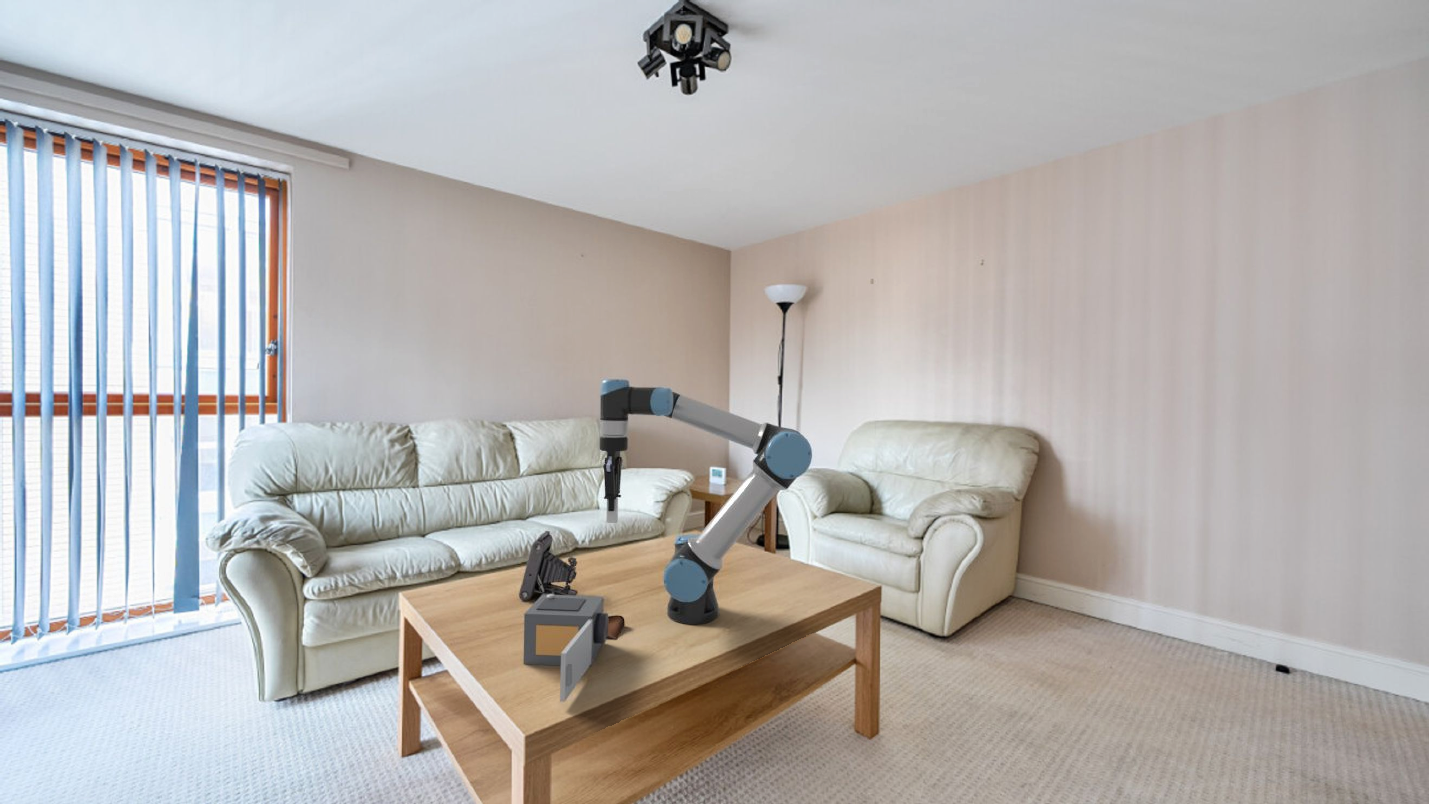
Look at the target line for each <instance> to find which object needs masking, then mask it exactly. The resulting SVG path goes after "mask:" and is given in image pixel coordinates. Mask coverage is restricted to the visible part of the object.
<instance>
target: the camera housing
mask: <svg viewBox="0 0 1429 804" xmlns="http://www.w3.org/2000/svg"><path fill="white" fill-rule="evenodd" d="M604 599H605V597H604V596H594V595H575V596H572V595H554V594H548V595H545V594H542V593H541V595H540V597H539V598H538V599H537V600H536V601H535V602H534V603H532V605H531V606H530V607H529V608H528V609H527V610H526V612H524V617H523V618H524V619H523V665H537V664H538V665H540V666H543V665H544V666H561V653H562V651H563V650H564V649H565V648H566V646H567V645H568V644H569V643H570V642H571V640H572V639H573V638H574V637H575V636H576V634H577V633H578V632H579V631H580V629H581V628H582V627H583V626H584V625H585V623H586V622H587V621H588V619H593V649H592V663H591V664H590V666H589V667H588V668H590V667H591V666H592V664H593V662H594V661H595V658H596V657H597V655H598V652H599V651H600V649H601V647H602V645H604V644H606V641H607V640H608V639H607V634H608V626H609V617H608V616H609V613H607V612H604V603H605V601H604ZM538 665H537V666H538Z"/></svg>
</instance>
